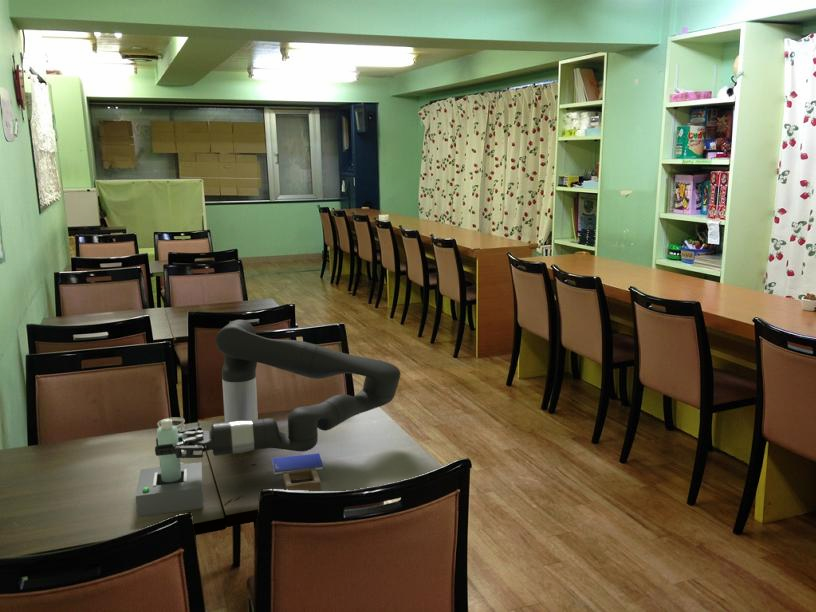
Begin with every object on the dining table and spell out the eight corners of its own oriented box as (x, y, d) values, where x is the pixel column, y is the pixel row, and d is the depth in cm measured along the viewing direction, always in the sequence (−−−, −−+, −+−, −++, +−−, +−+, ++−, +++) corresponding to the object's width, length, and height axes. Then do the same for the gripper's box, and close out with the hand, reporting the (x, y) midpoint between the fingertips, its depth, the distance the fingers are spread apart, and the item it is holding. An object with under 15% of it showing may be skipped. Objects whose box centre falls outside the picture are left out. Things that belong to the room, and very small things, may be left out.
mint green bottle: (161, 475, 160) (156, 418, 157) (181, 472, 161) (176, 416, 159) (160, 483, 156) (155, 425, 153) (181, 480, 157) (176, 423, 154)
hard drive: (274, 470, 172) (323, 465, 175) (271, 457, 180) (319, 452, 183) (274, 476, 172) (323, 471, 176) (272, 462, 180) (319, 457, 183)
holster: (283, 479, 169) (282, 472, 169) (315, 475, 172) (315, 468, 171) (287, 494, 162) (286, 486, 161) (320, 489, 164) (320, 482, 164)
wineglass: (168, 474, 172) (165, 429, 170) (155, 466, 177) (152, 422, 174) (193, 465, 177) (190, 421, 175) (179, 458, 182) (176, 415, 179)
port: (142, 488, 165) (140, 466, 164) (203, 480, 169) (201, 459, 168) (137, 516, 152) (135, 493, 150) (203, 507, 156) (201, 485, 154)
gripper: (235, 464, 155) (155, 475, 150) (232, 440, 169) (158, 449, 164) (233, 433, 154) (152, 443, 149) (230, 412, 167) (156, 420, 162)
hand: (156, 446), depth 156 cm, fingers closed on mint green bottle, 4 cm apart
